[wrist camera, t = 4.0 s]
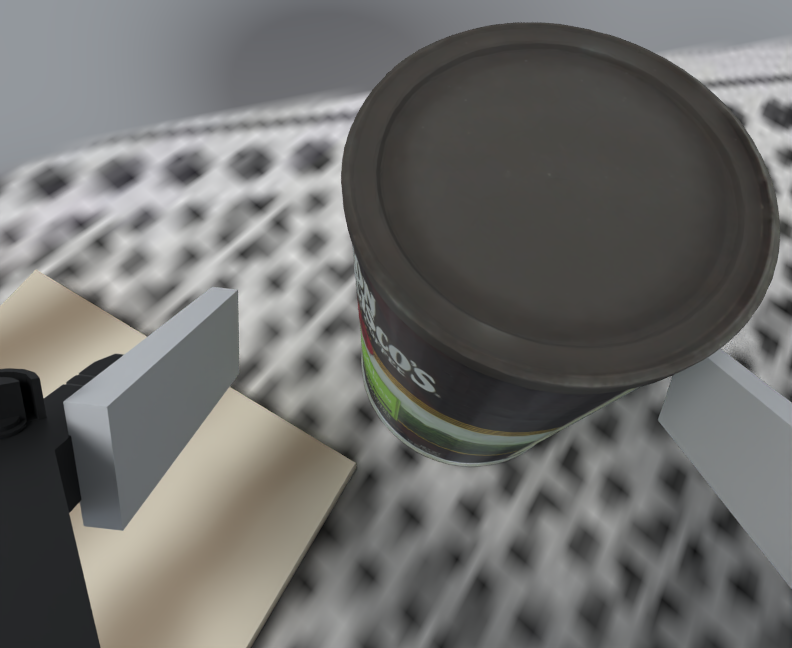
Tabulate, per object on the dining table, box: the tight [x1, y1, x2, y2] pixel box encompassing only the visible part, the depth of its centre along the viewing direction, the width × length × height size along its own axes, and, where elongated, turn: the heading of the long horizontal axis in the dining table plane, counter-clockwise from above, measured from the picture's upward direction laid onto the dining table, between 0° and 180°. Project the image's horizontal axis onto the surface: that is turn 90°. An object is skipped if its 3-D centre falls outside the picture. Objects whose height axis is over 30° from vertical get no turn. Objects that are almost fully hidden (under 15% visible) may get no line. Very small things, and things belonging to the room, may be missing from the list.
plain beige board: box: [0, 270, 357, 648], centre depth 21 cm, size 18×13×2 cm
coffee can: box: [341, 23, 780, 466], centre depth 18 cm, size 10×10×14 cm
